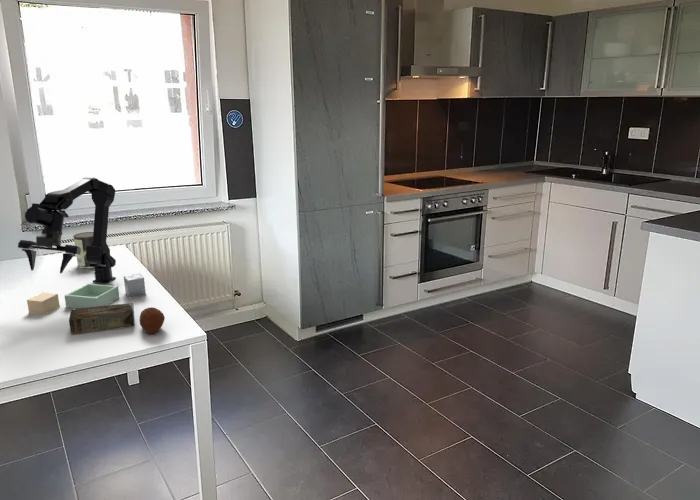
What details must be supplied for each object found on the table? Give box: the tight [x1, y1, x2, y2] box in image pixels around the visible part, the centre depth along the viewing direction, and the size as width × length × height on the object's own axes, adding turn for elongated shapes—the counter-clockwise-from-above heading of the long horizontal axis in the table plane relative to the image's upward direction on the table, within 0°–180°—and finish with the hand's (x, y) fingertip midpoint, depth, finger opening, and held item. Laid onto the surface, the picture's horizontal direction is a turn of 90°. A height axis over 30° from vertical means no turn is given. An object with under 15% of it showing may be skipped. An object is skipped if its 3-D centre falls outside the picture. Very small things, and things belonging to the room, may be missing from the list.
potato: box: [139, 306, 166, 335], centre depth 171 cm, size 8×12×8 cm, turn 38°
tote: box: [64, 283, 120, 309], centre depth 194 cm, size 13×13×4 cm
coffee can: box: [72, 231, 95, 269], centre depth 235 cm, size 10×10×14 cm
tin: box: [123, 273, 147, 299], centre depth 202 cm, size 6×6×7 cm
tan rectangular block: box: [26, 292, 60, 315], centre depth 187 cm, size 8×6×5 cm
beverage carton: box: [68, 302, 135, 335], centre depth 174 cm, size 8×19×7 cm, turn 112°
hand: (46, 271), depth 186 cm, fingers open, 9 cm apart
